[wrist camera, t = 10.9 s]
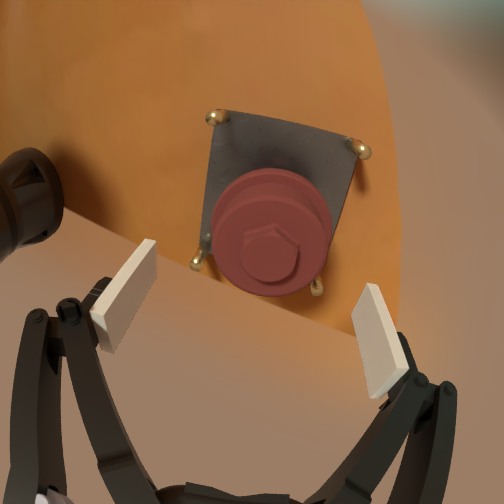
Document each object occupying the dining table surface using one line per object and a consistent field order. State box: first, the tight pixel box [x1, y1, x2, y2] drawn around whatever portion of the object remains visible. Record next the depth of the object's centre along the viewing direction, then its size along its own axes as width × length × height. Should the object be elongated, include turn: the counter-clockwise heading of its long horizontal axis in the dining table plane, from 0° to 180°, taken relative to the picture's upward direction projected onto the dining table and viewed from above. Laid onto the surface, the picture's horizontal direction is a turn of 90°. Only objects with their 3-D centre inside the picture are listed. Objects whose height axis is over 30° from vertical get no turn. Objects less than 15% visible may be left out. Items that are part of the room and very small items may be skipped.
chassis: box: [190, 109, 372, 296], centre depth 28 cm, size 15×17×4 cm
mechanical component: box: [211, 168, 332, 297], centre depth 24 cm, size 12×10×10 cm
